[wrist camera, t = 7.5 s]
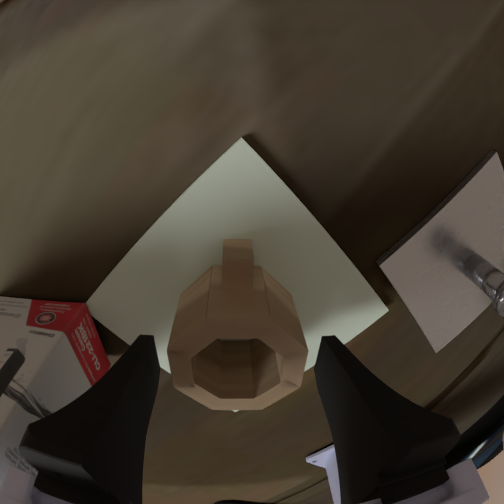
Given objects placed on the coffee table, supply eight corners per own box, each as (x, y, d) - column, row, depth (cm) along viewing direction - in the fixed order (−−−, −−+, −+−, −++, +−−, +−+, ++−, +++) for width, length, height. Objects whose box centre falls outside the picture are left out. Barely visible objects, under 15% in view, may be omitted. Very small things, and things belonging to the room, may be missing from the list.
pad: (385, 305, 16) (388, 310, 16) (235, 406, 19) (235, 412, 19) (241, 137, 12) (241, 137, 12) (85, 302, 15) (82, 307, 14)
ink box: (87, 298, 14) (-27, 488, 3) (113, 365, 16) (48, 534, 5) (-6, 292, 14) (-105, 409, 4) (21, 349, 16) (-52, 467, 6)
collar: (283, 351, 16) (295, 407, 13) (186, 351, 16) (178, 408, 12) (297, 240, 14) (320, 286, 10) (176, 238, 13) (156, 285, 10)
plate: (521, 261, 16) (558, 289, 12) (433, 348, 18) (461, 391, 14) (491, 150, 12) (547, 168, 8) (375, 261, 15) (416, 310, 11)
